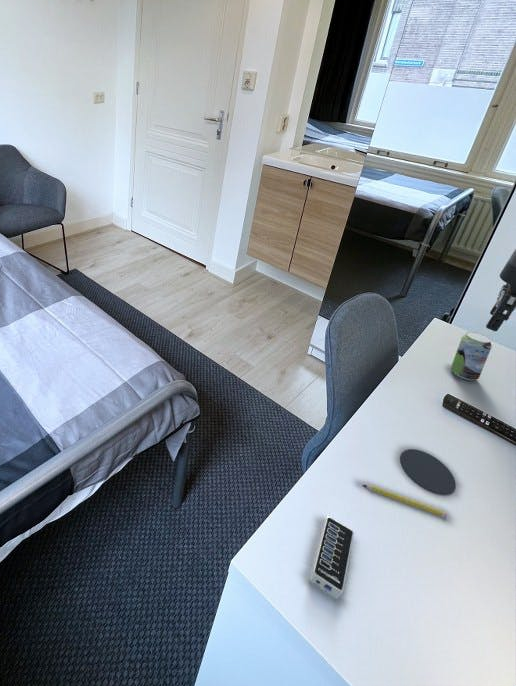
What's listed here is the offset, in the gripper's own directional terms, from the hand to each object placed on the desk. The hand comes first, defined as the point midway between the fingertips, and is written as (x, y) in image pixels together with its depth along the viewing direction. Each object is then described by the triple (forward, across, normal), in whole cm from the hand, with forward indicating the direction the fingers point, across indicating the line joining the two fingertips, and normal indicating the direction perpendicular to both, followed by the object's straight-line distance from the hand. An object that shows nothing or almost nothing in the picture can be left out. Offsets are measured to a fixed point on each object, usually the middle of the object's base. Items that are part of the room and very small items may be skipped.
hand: (492, 322), depth 103 cm
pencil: (+18, -52, +2) cm, 55 cm away
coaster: (+17, -41, 0) cm, 44 cm away
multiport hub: (+18, -72, +8) cm, 75 cm away
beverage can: (+17, 0, 0) cm, 17 cm away
